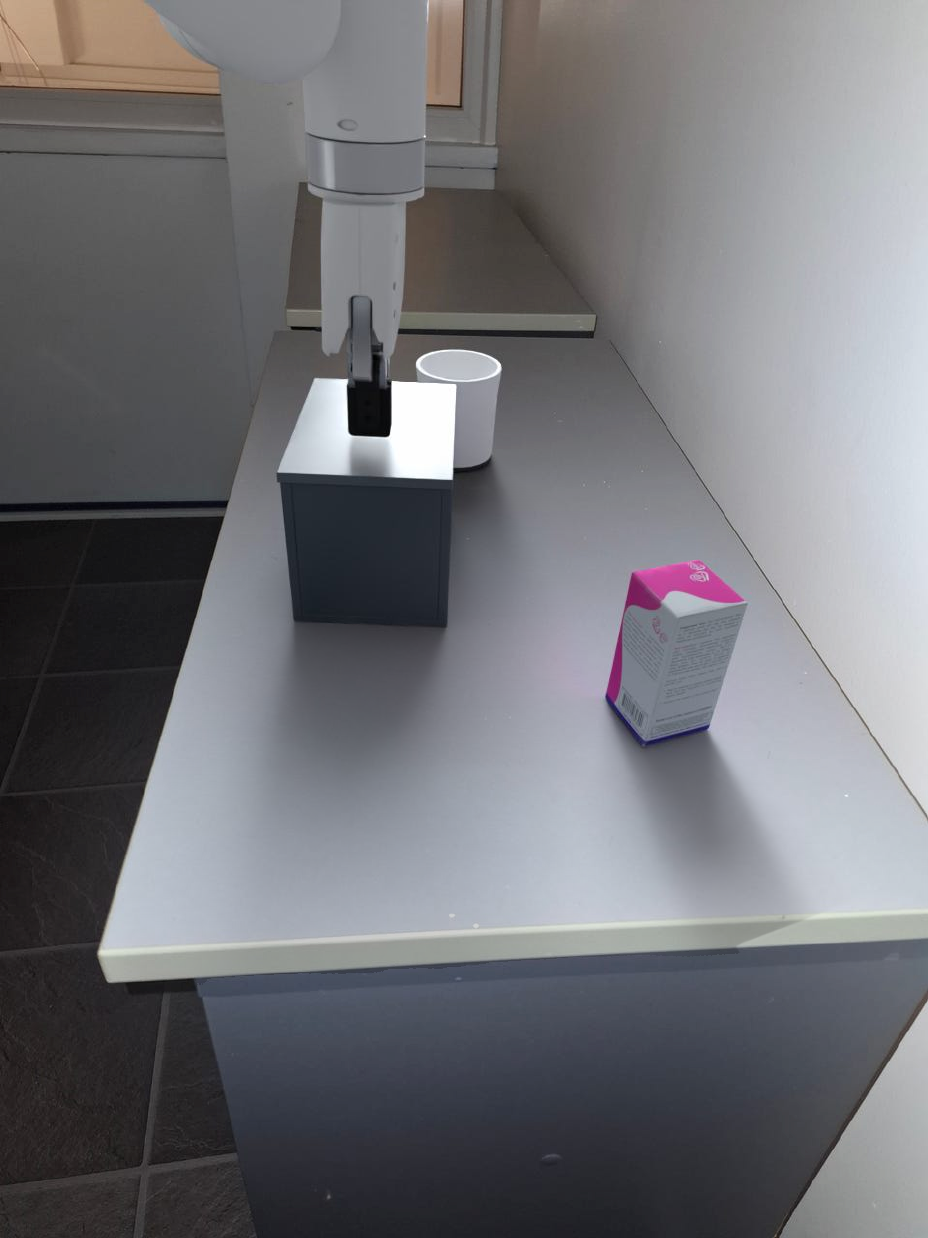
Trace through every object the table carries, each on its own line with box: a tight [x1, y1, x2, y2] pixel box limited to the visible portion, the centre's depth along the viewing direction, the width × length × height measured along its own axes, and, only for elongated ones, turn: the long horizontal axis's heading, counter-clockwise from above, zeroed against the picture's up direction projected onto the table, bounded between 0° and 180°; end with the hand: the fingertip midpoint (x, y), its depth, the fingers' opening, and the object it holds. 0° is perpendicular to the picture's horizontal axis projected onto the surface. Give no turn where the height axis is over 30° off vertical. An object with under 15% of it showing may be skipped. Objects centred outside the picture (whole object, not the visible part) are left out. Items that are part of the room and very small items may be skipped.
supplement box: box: [604, 559, 748, 748], centre depth 60 cm, size 6×6×12 cm
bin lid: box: [275, 377, 457, 490], centre depth 69 cm, size 18×13×1 cm
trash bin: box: [279, 482, 454, 628], centre depth 73 cm, size 18×13×13 cm
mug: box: [415, 349, 503, 473], centre depth 92 cm, size 11×9×10 cm
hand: (370, 431), depth 66 cm, fingers closed
